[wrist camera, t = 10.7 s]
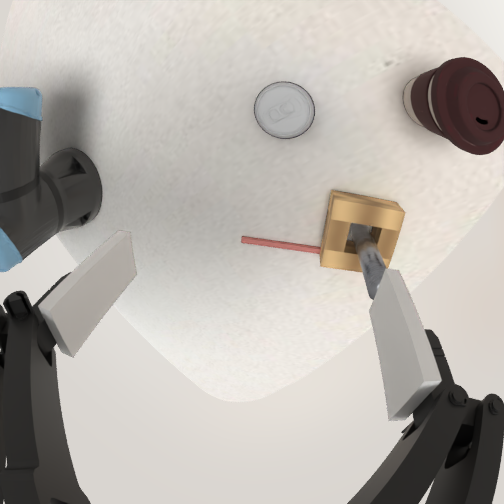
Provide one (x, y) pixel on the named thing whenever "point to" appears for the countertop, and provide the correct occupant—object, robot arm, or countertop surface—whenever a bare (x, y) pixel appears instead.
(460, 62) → the coffee cup
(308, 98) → the beverage can
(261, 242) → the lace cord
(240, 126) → the countertop surface
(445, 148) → the countertop surface
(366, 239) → the grey capsule rod
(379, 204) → the wooden square frame
